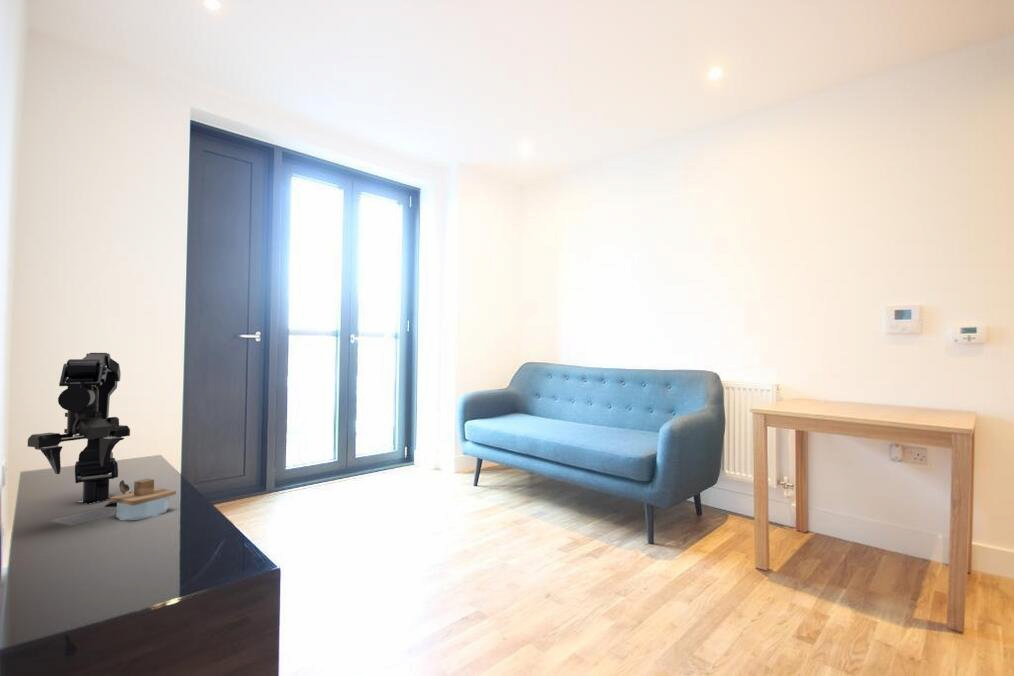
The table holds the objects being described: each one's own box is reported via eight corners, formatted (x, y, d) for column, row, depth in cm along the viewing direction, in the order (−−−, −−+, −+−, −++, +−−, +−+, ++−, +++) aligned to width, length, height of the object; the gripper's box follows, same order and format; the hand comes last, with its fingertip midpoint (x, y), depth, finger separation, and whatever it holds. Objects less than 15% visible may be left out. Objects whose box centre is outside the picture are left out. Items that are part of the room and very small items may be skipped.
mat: (48, 522, 115) (48, 520, 115) (96, 510, 125) (96, 508, 125) (70, 527, 112) (70, 525, 112) (118, 514, 121) (118, 513, 121)
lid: (110, 501, 117) (110, 483, 118) (152, 491, 127) (153, 474, 127) (133, 505, 114) (134, 487, 114) (176, 494, 123) (176, 477, 123)
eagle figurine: (153, 495, 135) (123, 490, 135) (147, 478, 131) (116, 473, 131) (132, 516, 128) (100, 511, 128) (125, 499, 124) (93, 494, 125)
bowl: (109, 519, 117) (110, 501, 117) (152, 507, 126) (152, 490, 127) (133, 523, 113) (133, 505, 114) (175, 511, 123) (176, 494, 123)
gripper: (52, 412, 105) (50, 481, 104) (143, 405, 122) (141, 464, 122) (27, 411, 110) (24, 477, 109) (118, 404, 127) (116, 461, 126)
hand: (81, 469), depth 116 cm, fingers open, 9 cm apart
